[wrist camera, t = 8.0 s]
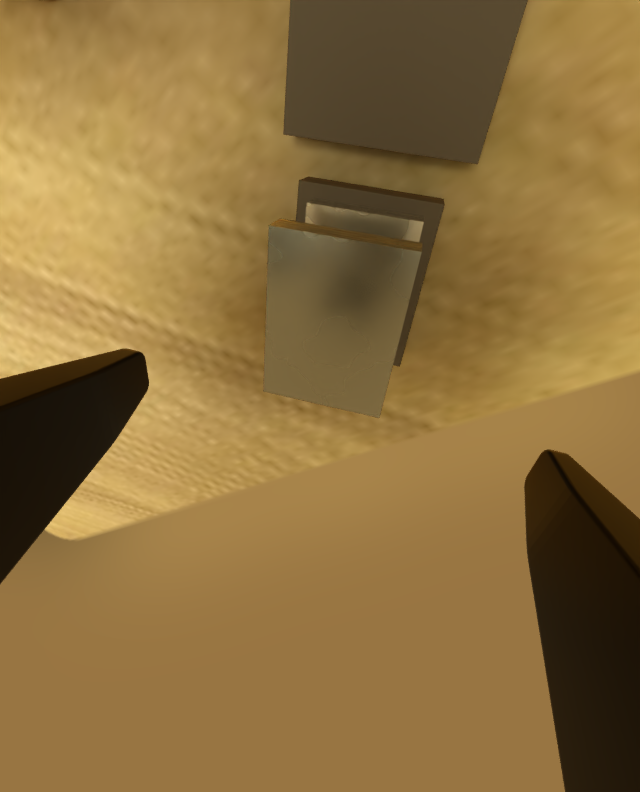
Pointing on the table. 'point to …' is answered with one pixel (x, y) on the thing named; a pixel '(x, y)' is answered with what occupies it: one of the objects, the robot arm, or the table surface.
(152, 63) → the table surface
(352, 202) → the stand
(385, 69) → the stand
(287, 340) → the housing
